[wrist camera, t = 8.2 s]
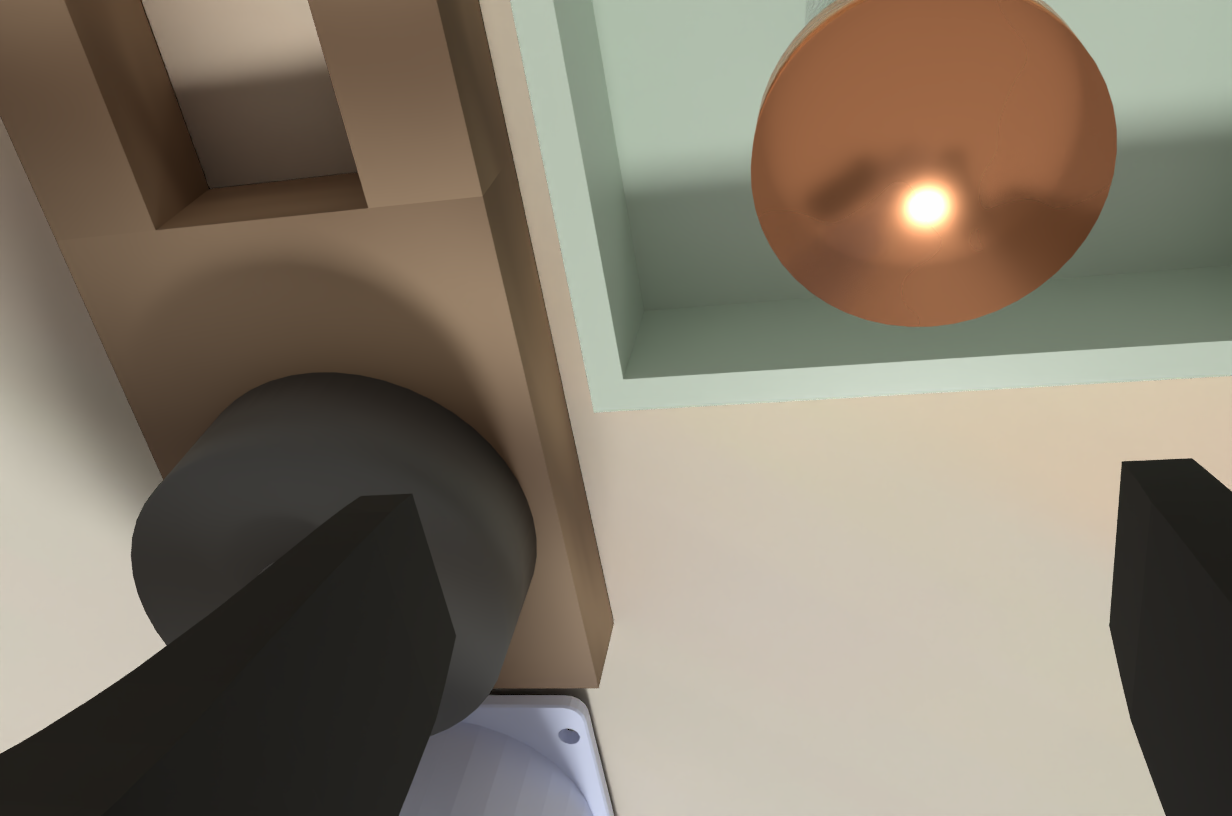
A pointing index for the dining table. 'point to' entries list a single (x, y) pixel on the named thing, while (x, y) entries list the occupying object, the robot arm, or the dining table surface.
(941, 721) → the dining table surface
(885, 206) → the lock pin
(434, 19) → the tensioner board
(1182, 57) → the tray
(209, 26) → the dining table surface
